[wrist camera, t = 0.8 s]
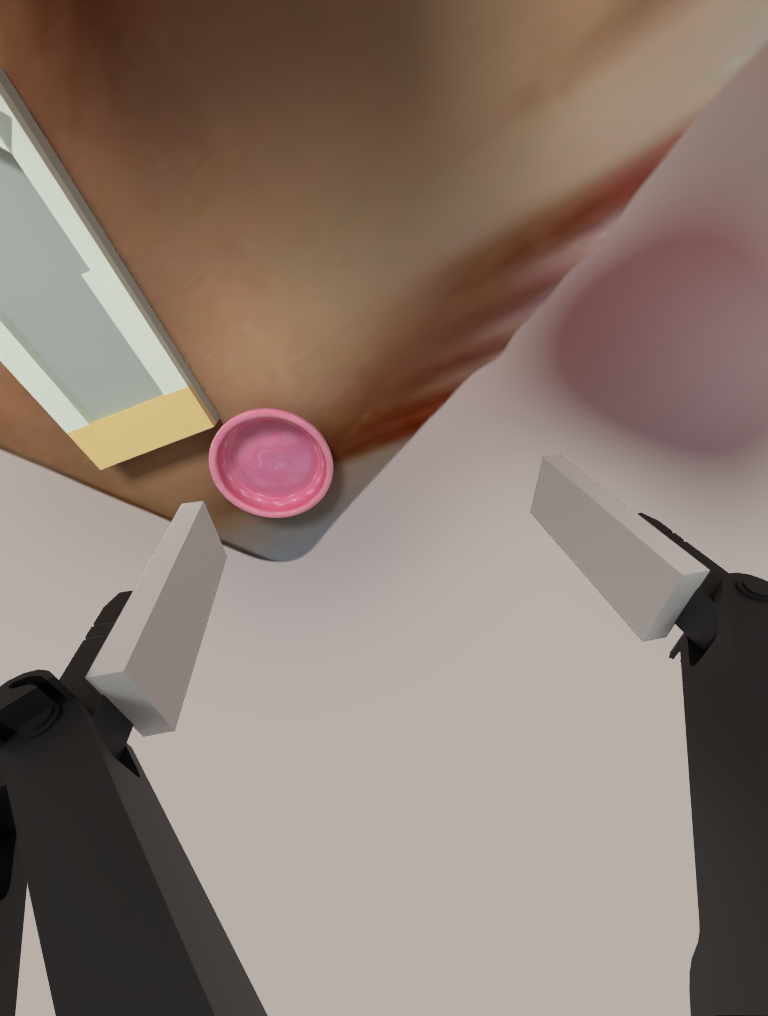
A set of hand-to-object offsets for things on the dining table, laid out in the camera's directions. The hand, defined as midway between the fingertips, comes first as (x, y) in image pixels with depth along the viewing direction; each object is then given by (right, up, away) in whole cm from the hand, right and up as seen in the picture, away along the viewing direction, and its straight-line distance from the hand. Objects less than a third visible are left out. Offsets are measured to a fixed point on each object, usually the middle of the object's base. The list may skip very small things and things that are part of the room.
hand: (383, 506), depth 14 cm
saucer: (-12, +6, +25) cm, 29 cm away
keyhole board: (-26, +16, +15) cm, 34 cm away
